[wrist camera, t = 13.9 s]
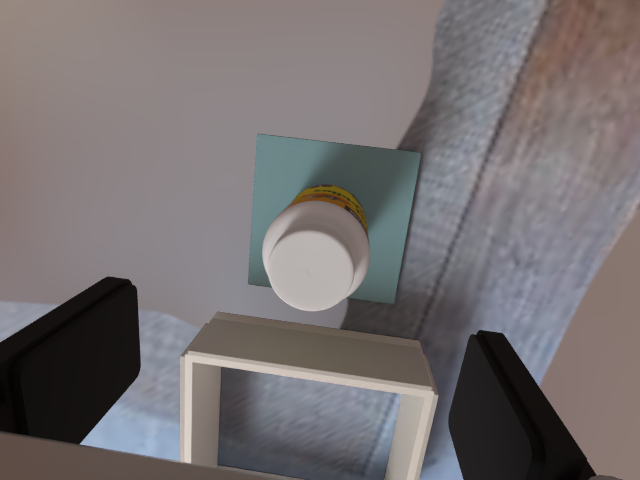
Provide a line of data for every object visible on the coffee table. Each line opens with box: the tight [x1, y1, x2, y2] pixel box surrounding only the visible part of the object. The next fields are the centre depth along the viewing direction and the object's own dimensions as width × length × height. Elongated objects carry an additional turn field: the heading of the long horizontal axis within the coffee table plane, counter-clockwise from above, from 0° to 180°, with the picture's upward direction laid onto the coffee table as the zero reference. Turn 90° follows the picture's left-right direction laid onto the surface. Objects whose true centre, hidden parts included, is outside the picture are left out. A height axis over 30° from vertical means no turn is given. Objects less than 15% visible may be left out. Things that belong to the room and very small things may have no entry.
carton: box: [180, 312, 439, 480], centre depth 29 cm, size 17×17×6 cm
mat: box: [248, 134, 421, 304], centre depth 27 cm, size 11×11×1 cm
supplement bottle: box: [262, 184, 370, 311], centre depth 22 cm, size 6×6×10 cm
